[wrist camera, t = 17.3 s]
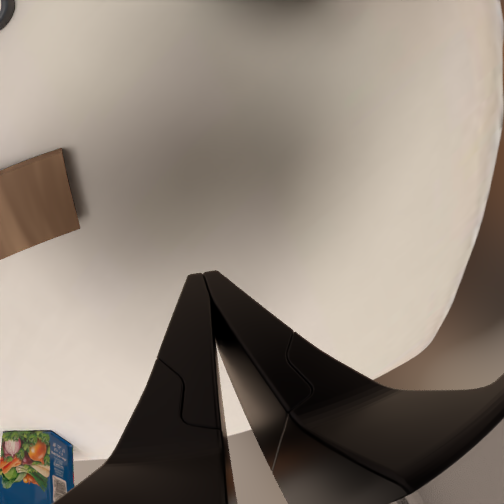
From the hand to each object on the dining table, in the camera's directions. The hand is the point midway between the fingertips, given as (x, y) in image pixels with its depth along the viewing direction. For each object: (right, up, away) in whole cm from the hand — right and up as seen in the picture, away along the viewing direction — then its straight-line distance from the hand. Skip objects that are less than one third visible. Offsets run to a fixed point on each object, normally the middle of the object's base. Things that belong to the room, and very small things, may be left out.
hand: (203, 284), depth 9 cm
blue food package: (-33, -29, +23) cm, 50 cm away
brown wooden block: (-10, +5, +7) cm, 13 cm away
